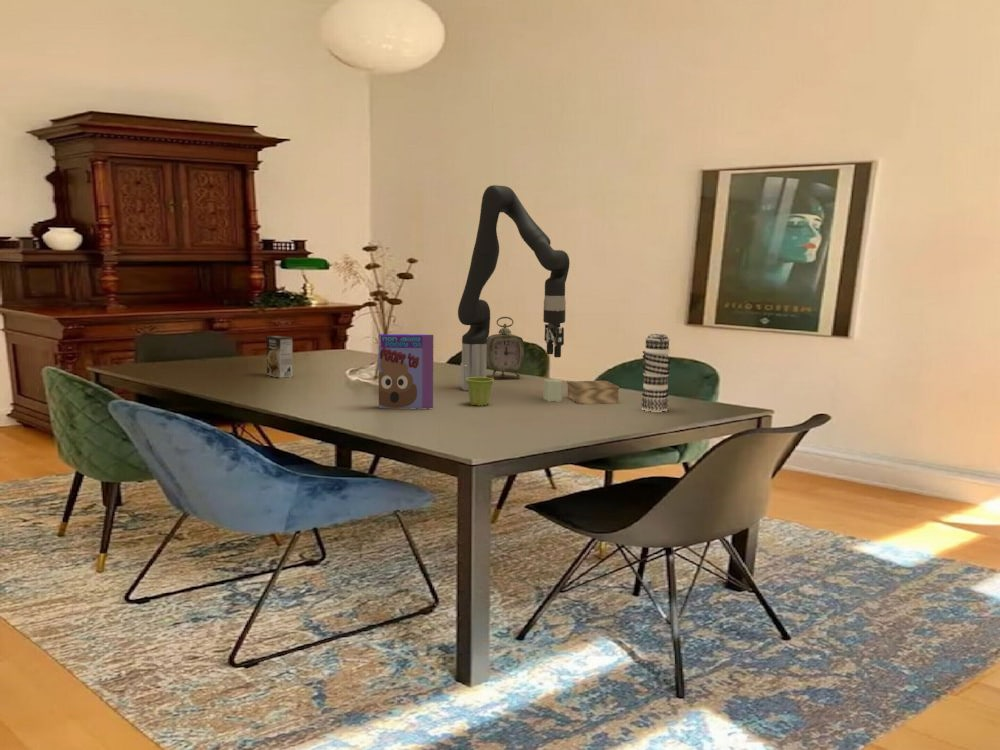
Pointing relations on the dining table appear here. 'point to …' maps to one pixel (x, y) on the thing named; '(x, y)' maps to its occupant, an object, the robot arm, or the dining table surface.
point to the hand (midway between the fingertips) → (553, 355)
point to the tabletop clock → (505, 351)
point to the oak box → (593, 392)
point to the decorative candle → (656, 373)
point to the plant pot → (479, 390)
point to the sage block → (552, 390)
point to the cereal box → (405, 371)
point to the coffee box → (279, 356)
